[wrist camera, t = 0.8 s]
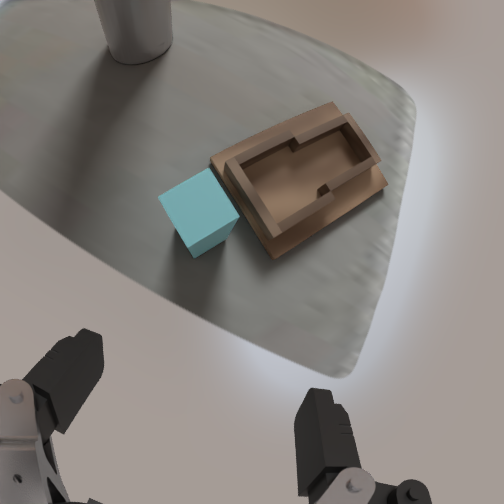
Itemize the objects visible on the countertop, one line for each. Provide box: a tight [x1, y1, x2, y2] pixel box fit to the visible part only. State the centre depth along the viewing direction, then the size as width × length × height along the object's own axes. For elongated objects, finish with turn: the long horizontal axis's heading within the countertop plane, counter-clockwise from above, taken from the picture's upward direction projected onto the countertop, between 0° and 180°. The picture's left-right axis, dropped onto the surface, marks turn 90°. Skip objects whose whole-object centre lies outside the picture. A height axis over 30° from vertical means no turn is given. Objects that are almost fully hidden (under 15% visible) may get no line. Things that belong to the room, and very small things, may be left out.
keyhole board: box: [210, 101, 388, 260], centre depth 32 cm, size 13×18×4 cm
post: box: [158, 168, 240, 259], centre depth 25 cm, size 4×4×12 cm
